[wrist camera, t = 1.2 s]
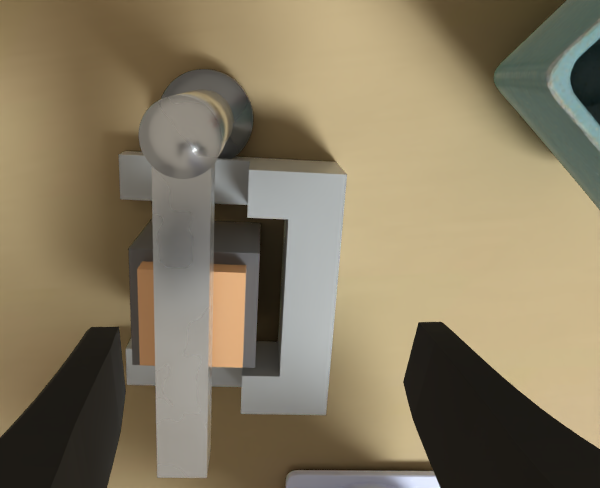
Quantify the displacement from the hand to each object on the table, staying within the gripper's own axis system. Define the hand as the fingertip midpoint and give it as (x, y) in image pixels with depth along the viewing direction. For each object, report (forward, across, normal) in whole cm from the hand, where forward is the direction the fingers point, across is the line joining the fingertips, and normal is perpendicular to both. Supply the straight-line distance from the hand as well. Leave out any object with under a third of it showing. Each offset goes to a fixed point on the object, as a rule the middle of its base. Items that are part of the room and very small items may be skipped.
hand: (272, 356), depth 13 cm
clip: (+9, +2, +2) cm, 9 cm away
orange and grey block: (+10, +2, +4) cm, 11 cm away
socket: (+10, +2, +4) cm, 11 cm away
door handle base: (+12, +2, -2) cm, 12 cm away
